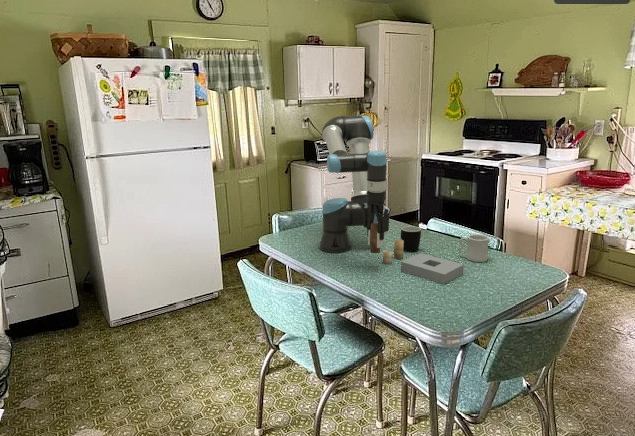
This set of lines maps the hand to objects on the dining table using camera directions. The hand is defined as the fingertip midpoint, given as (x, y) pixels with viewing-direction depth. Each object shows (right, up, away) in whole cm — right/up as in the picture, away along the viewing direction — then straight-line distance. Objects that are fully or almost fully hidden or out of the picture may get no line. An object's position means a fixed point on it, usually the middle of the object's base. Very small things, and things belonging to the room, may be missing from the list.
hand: (375, 245), depth 190 cm
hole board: (+22, -11, -5) cm, 25 cm away
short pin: (+6, -8, +7) cm, 12 cm away
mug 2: (+44, -6, +10) cm, 45 cm away
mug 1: (+18, -3, +24) cm, 30 cm away
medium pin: (+12, -6, +12) cm, 18 cm away
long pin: (0, -3, +1) cm, 3 cm away
